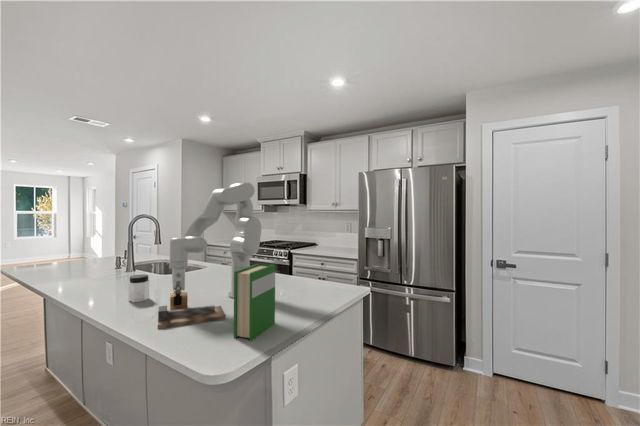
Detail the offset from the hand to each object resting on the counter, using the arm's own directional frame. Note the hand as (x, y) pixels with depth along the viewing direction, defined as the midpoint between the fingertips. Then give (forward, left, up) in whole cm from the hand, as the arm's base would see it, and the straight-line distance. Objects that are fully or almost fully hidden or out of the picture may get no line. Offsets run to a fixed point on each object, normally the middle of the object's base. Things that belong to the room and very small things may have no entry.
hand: (177, 302), depth 137 cm
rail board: (-6, +14, -4) cm, 15 cm away
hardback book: (-27, +37, -4) cm, 46 cm away
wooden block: (-1, 0, -4) cm, 4 cm away
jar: (+17, -24, -4) cm, 30 cm away
